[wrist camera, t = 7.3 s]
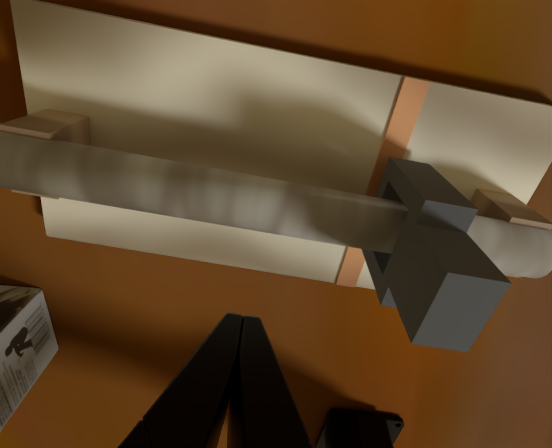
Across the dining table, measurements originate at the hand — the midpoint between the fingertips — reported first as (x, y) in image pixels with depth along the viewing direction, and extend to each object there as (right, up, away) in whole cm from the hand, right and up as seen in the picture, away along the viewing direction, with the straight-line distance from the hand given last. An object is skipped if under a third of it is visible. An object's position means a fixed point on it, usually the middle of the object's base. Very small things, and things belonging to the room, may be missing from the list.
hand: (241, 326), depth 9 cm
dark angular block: (+7, +4, +9) cm, 12 cm away
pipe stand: (+1, +6, +11) cm, 12 cm away
